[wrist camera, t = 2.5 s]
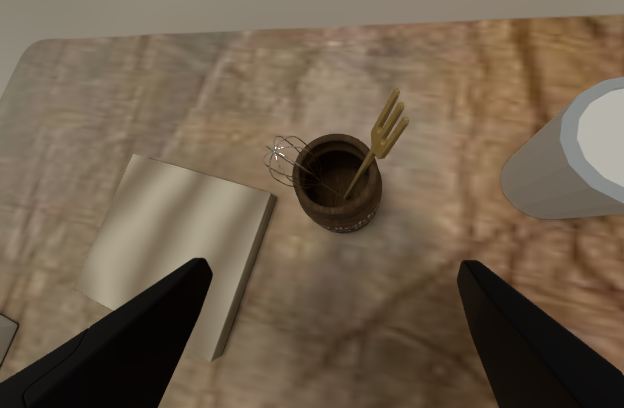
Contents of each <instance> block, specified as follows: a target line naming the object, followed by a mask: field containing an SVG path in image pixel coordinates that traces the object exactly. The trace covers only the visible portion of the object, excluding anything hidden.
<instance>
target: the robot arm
mask: <svg viewBox="0 0 624 408" xmlns="http://www.w3.org/2000/svg"><path fill="white" fill-rule="evenodd" d="M212 278H213V272H212V270H211V268H210V266H209V264H208V262H207V260H206V259H205V258H192V259H191V260H189V261H188V262H186V263H185V264H183V265H182V266H180V267H179V268H177V269H176V270H174V271H173V272H171V273H170V274H168V275H167V276H165V277H164V278H162V279H161V280H159V281H158V282H156V283H155V284H153V285H152V286H150V287H149V288H147V289H146V290H144V291H143V292H141V293H140V294H138V295H137V296H135V297H134V298H132V299H131V300H129V301H128V302H126V303H125V304H123V305H122V306H120V307H119V308H117V309H116V310H114V311H113V312H111V313H110V314H108V315H107V316H105V317H104V318H102V319H101V320H99V321H98V322H96V323H95V324H93V325H92V326H90V328H87V329H86V330H84V331H83V332H81V333H80V334H78V335H77V336H75V337H74V338H72V339H71V340H69V341H68V342H66V343H64V344H63V345H61V346H60V347H58V348H57V349H55V350H54V351H52V352H50V353H49V354H47V355H46V356H44V357H42V358H41V359H39V360H37V361H36V362H34V363H33V364H31V365H29V366H28V367H26V368H24V369H23V370H21V371H20V372H18V373H16V374H15V375H13V376H11V377H10V378H8V379H6V380H5V381H3V382H1V383H0V408H158V406H159V404H160V401H161V399H162V397H163V395H164V393H165V390H166V388H167V386H168V384H169V382H170V379H171V377H172V375H173V373H174V371H175V368H176V366H177V364H178V362H179V360H180V358H181V355H182V353H183V351H184V349H185V347H186V344H187V342H188V340H189V338H190V336H191V333H192V331H193V329H194V327H195V325H196V322H197V320H198V318H199V315H200V313H201V310H202V307H203V304H204V301H205V298H206V296H207V293H208V290H209V287H210V284H211V281H212ZM457 284H458V288H459V292H460V296H461V299H462V303H463V307H464V311H465V315H466V318H467V322H468V326H469V329H470V333H471V336H472V338H473V341H474V344H475V346H476V349H477V352H478V354H479V357H480V359H481V362H482V364H483V367H484V370H485V372H486V375H487V377H488V380H489V382H490V385H491V388H492V390H493V393H494V395H495V398H496V400H497V403H498V406H499V408H624V375H623V373H622V372H621V371H620V370H619V369H617V368H616V367H615V366H614V365H612V364H611V363H610V362H608V361H607V360H606V359H604V358H603V357H602V356H601V355H599V354H598V353H597V352H595V351H594V350H593V349H592V348H590V347H589V346H588V345H586V344H585V343H584V342H583V341H581V340H580V339H579V338H577V337H576V336H575V335H574V334H572V333H571V332H570V331H568V330H567V329H566V328H565V327H563V326H562V325H561V324H559V323H558V322H557V321H556V320H554V319H553V318H552V317H550V316H549V315H548V314H546V313H545V312H544V311H543V310H541V309H540V308H539V307H537V306H536V305H535V304H534V303H532V302H531V301H530V300H528V299H527V298H526V297H525V296H523V295H522V294H521V293H519V292H518V291H517V290H516V289H514V288H513V287H512V286H510V285H509V284H508V283H507V282H505V281H504V280H503V279H501V278H500V277H499V276H498V275H496V274H495V273H494V272H492V271H491V270H490V269H489V268H487V267H486V266H485V265H483V264H482V263H481V262H479V261H477V260H463V261H462V262H461V265H460V269H459V273H458V277H457Z"/></svg>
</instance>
